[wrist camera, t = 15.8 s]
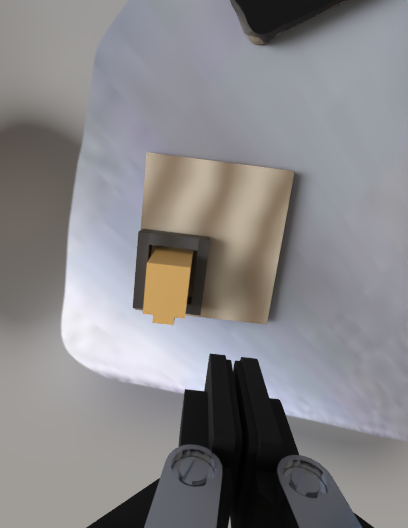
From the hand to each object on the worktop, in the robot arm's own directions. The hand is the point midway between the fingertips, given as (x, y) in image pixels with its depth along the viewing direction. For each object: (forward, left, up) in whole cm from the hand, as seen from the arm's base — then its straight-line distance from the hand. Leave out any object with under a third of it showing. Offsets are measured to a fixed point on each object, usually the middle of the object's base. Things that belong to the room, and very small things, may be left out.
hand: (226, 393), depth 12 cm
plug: (+4, +3, -28) cm, 28 cm away
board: (0, 0, -29) cm, 29 cm away
